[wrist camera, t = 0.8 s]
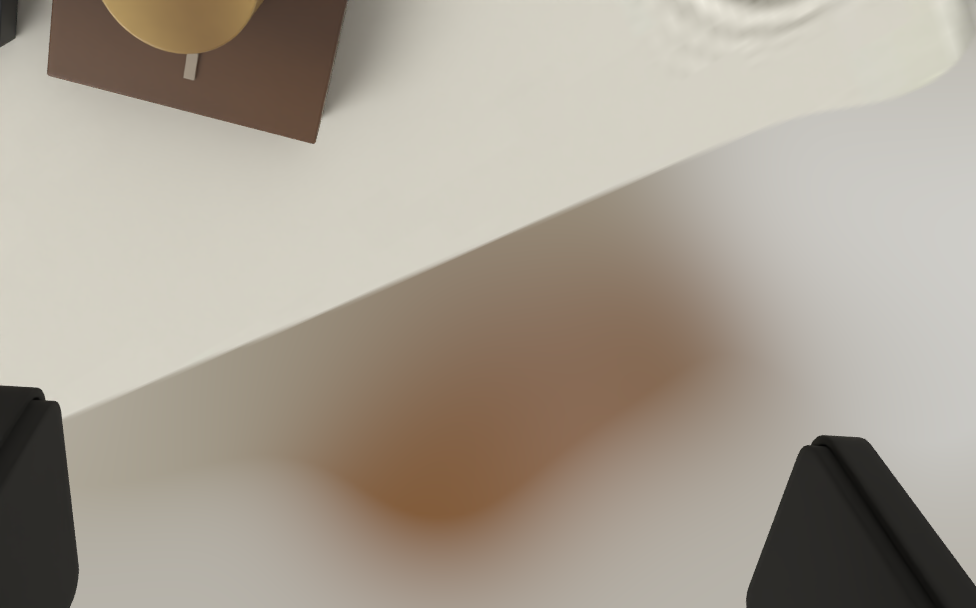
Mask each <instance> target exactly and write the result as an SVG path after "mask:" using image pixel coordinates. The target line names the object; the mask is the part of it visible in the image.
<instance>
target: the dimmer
mask: <svg viewBox="0 0 976 608" xmlns="http://www.w3.org/2000/svg"><path fill="white" fill-rule="evenodd" d="M347 4H348V0H264V1H263V2H262V4H261V5H260V6H259V8H258V9H257V11H256V12H255V13H254V15H253V16H252V17H251V19H250V20H249V22H248V23H247V24H246V26H245V27H244V28H243V29H242V31H241V32H240V33H239V34H238V35H237V36H236V37H235V38H233V39H232V40H231V41H229V42H228V43H226V44H225V45H223V46H221V47H219V48H217V49H214V50H211V51H208V52H203V53H198V54H178V53H172V52H167V51H163V50H160V49H157V48H155V47H152V46H150V45H148V44H146V43H144V42H142V41H141V40H139V39H138V38H136V37H134V36H133V35H132V34H131V33H129V32H128V31H127V30H125V29H124V28H123V27H122V26H121V25H120V24H119V23H118V22H117V21H116V19H115V18H114V17H113V16H112V15H111V13H110V12H109V10H108V9H107V7H106V6H105V4H104V3H103V1H102V0H53V3H52V16H51V29H50V42H49V55H48V68H47V74H48V75H49V76H52V77H56V78H60V79H64V80H67V81H71V82H75V83H79V84H83V85H87V86H91V87H95V88H98V89H102V90H106V91H110V92H114V93H118V94H122V95H126V96H129V97H133V98H137V99H141V100H145V101H149V102H153V103H157V104H160V105H164V106H168V107H172V108H176V109H180V110H184V111H188V112H192V113H195V114H199V115H203V116H207V117H211V118H215V119H219V120H223V121H226V122H230V123H234V124H238V125H242V126H246V127H250V128H254V129H257V130H261V131H265V132H269V133H273V134H277V135H281V136H285V137H288V138H292V139H296V140H300V141H304V142H308V143H312V144H315V142H316V139H317V135H318V131H319V127H320V123H321V120H322V115H323V111H324V106H325V102H326V97H327V93H328V89H329V84H330V80H331V75H332V71H333V66H334V62H335V57H336V53H337V48H338V44H339V39H340V35H341V30H342V26H343V22H344V17H345V13H346V8H347Z"/></svg>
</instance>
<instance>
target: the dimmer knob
mask: <svg viewBox="0 0 976 608" xmlns="http://www.w3.org/2000/svg"><path fill="white" fill-rule="evenodd" d="M102 1H103V3H104V4H105V6H106V7H107V9H108V10H109V12H110V13H111V15H112V16H113V17H114V18H115V19H116V21H117V22H118V23H119V24H120V25H121V26H122V27H123V28H124V29H125V30H127V31H128V32H129V33H131V34H132V35H133V36H134V37H136V38H138V39H139V40H141V41H142V42H144V43H146V44H148V45H150V46H152V47H155V48H157V49H160V50H163V51H167V52H172V53H178V54H198V53H203V52H208V51H211V50H214V49H217V48H219V47H221V46H223V45H225V44H226V43H228V42H229V41H231V40H232V39H233V38H235V37H236V36H237V35H238V34H239V33H240V32H241V31H242V29H243V28H244V27H245V26H246V24H247V23H248V22H249V20H250V19H251V17H252V16H253V15H254V13H255V12H256V11H257V9H258V8H259V6H260V5H261V4H262V2H263V1H264V0H102Z"/></svg>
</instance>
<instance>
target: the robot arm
mask: <svg viewBox="0 0 976 608" xmlns="http://www.w3.org/2000/svg"><path fill="white" fill-rule="evenodd" d="M78 567H79V565H78V556H77V548H76V540H75V530H74V522H73V512H72V504H71V495H70V486H69V477H68V470H67V460H66V451H65V443H64V434H63V425H62V416H61V409H60V406H59V404H58V402H56V401H46V400H45V396H44V393H43V392H42V390H41V389H39V388H33V387H17V386H0V608H70V606H71V603H72V601H73V598H74V595H75V592H76V588H77V582H78V574H79V568H78ZM746 605H747V608H976V586H975V585H974V583H973V582H972V581H971V579H970V578H969V577H968V575H967V574H966V572H965V571H964V570H963V568H962V567H961V566H960V564H959V563H958V562H957V560H956V559H955V558H954V556H953V555H952V554H951V552H950V551H949V550H948V548H947V547H946V545H945V544H944V543H943V541H942V540H941V539H940V537H939V536H938V535H937V533H936V532H935V531H934V529H933V528H932V527H931V525H930V524H929V522H928V521H927V520H926V519H925V517H924V516H923V514H922V513H921V512H920V510H919V509H918V508H917V506H916V505H915V504H914V502H913V501H912V500H911V498H910V497H909V495H908V494H907V493H906V491H905V490H904V489H903V487H902V486H901V485H900V483H899V482H898V481H897V479H896V478H895V477H894V476H893V474H892V473H891V471H890V470H889V468H888V467H887V466H886V465H885V463H884V462H883V460H882V459H881V458H880V456H879V455H878V454H877V452H876V451H875V450H874V448H873V447H872V446H871V444H870V443H869V442H868V441H866V440H865V439H863V438H860V437H844V436H827V435H822V436H818V437H817V438H816V439H815V440H814V441H813V442H812V444H811V445H807V446H804V447H803V448H802V449H801V450H800V452H799V454H798V456H797V459H796V462H795V464H794V467H793V470H792V473H791V475H790V478H789V480H788V483H787V486H786V489H785V491H784V494H783V497H782V499H781V502H780V505H779V507H778V510H777V513H776V515H775V518H774V521H773V523H772V526H771V529H770V531H769V534H768V537H767V540H766V542H765V545H764V548H763V550H762V553H761V555H760V558H759V561H758V564H757V566H756V569H755V572H754V574H753V577H752V580H751V582H750V585H749V588H748V591H747V598H746Z"/></svg>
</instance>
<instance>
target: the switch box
mask: <svg viewBox="0 0 976 608" xmlns="http://www.w3.org/2000/svg"><path fill="white" fill-rule="evenodd" d="M17 4H18V0H0V47H1V46H3V45H5V44H6V43H8V42H10V41H11V40H13V39H15V38H16V21H17Z"/></svg>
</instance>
